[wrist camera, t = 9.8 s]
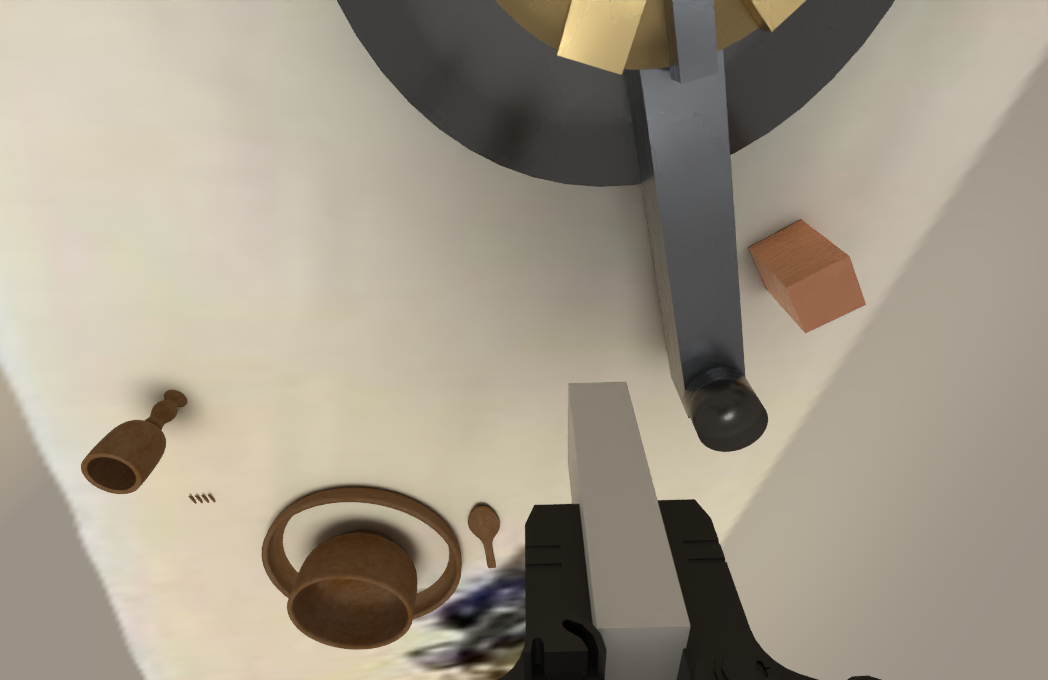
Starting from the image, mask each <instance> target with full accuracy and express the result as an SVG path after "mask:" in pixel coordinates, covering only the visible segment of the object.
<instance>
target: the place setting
mask: <svg viewBox="0 0 1048 680" xmlns="http://www.w3.org/2000/svg"><path fill="white" fill-rule="evenodd" d="M164 398H165V400H164V401H161V402H158V403H157V404H156V405H154V407H153V409H152V411H151V415H150V417H149V418H148V419H146V420H145V421H143V420H132V421H127V422H125V423H122V424H120V425H119V426H117V427H116V428H114V429H113V430H112V431H111V432H109V433H108V434H107V435H106V436H105V437H104V438H103V439H102V440H101V441H100V442H99V443H98V444H97V445H96V446H95V447H94V448H93V449H92V450H91V451H90V453H89V454H88V455H87V456H86V457H85V459H84V460H83V461H82V464H81V470H82V473H83V475H84V476H85V478H86V479H87V480H88V481H89V482H90V483H91V484H93V485H94V486H96V487H97V488H99V489H101V490H104V491H107V492H110V493H115V494H128V493H131V492H134V491H136V490H137V489H138V488H139V487H140V486H141V485H142V483H143V482H144V481H145V480H146V479H147V477H148V476H149V475H150V473H151V472H152V471H153V469H154V468H155V466H156V465H157V464H158V462H159V460H160V459H161V457H162V455H163V453H164V451H165V447H166V438H165V436H164V434H163V432H162V431H161V430H162V427H163V425H164V424H165V423H167V422H169V421H171V420H173V419H174V418H175V416H176V415H177V411H178V409H177V407H183V406H185V405H186V404H187V398H186V397H185V395H184V394H182V393H181V392H179V391H176V390H168V391H166V392H165V394H164ZM208 496H209V497H210V498H211V500H212V501H213V502H216V501H215V499H214V498H213V497H212V496H210V495H209V494H208ZM195 497H196V498H197V499H198V500H199V501H200V502H201V503H203V501H202V500H201V499H200V498H199V497H198V496H196V495H195ZM202 497H203V498H204V499H205V500H206V501H207V502H208V503H209V500H208V499H207V498H206V497H205V496H203V495H202ZM189 498H190V499H191V500H192V501H193V502H194V503H195V504H196V501H195V499H194V498H192V497H191V496H189ZM338 502H361V503H370V504H377V505H382V506H386V507H390V508H394V509H396V510H399V511H402V512H405V513H407V514H409V515H411V516H414V517H416V518H418V519H419V520H421V521H423V522H424V523H426V524H427V525H429V526H430V527H431V528H433V529H434V530H435V531H436V532H437V533H438V534H439V535H440V536H441V537H442V538H443V539H444V540H445V541H446V543H447V544H448V546H449V561H448V565H447V568H446V570H445V571H444V573H443V575H442V576H441V577H440V578H439V579H438V580H437V581H436V582H435V583H434V584H433V585H431V586H430V587H429V588H427V589H425V590H424V591H422V592H420V593H417V574H416V569H415V567H414V564H413V562H412V560H411V559H410V557H409V556H408V555H407V553H406V552H405V551H404V550H403V549H402V548H400V547H399V546H398V545H396V544H395V543H394V542H393V541H392V540H390V539H389V538H388V537H386V536H384V535H382V534H379V533H376V532H371V531H355V532H351V533H348V534H345V535H340V536H336V537H333V538H331V539H329V540H326V541H325V542H323V543H321V544H320V545H318V546H317V547H316V548H315V549H314V550H313V551H312V552H311V553H310V554H309V555H308V557H307V558H306V560H305V561H304V563H303V565H302V567H301V569H300V571H299V573H298V572H297V571H296V570H295V569H294V568H293V567H292V565H291V564H290V562H289V561H288V559H287V557H286V555H285V552H284V548H283V533H284V529H285V527H286V525H287V523H288V521H289V520H290V518H291V517H292V516H293V515H295V514H297V513H299V512H301V511H303V510H306V509H309V508H312V507H315V506H319V505H324V504H329V503H338ZM468 525H469V528H470V530H471V531H472V532H473V534H474V535H476V536H477V537H478V538H479V539H480V540H481V541H482V543H483V545H484V548H485V553H486V559H487V565H488V568H496V562H495V558H494V553H493V548H492V541H493V538H494V537H495V536H496V534H497V533H498V531H499V528H500V522H499V519H498V517H497V515H496V514H495V513H494V511H493V510H492V509H490V508H489V507H487V506H477V507H475V508H474V509H473V510H472V512H471V514H470V516H469V520H468ZM262 561H263V566H264V568H265V571H266V573H267V575H268V576H269V578H270V580H271V581H272V583H273V584H274V585H275V586H276V587H277V589H278V590H280V591H281V592H282V593H283V594H284V595H285V596H286V597H288V598H289V600H288V603H287V610H288V614H289V617H290V619H291V621H292V622H293V624H294V625H295V626H296V627H297V628H298V629H299V630H300V631H301V632H302V633H304V634H305V635H307V636H308V637H310V638H312V639H314V640H316V641H318V642H320V643H323V644H326V645H329V646H333V647H338V648H344V649H372V648H377V647H381V646H385V645H387V644H390V643H392V642H394V641H396V640H398V639H399V638H401V637H402V636H403V635H404V634H405V633H406V632H407V631H408V630H409V628H410V626H411V624H412V620H413V619H415V618H418V617H421V616H423V615H426V614H428V613H430V612H432V611H434V610H435V609H437V608H438V607H440V606H441V605H443V604H444V603H445V602H446V601H447V600H448V599H449V598H450V597H451V595H452V594H453V593H454V592H455V590H456V588H457V586H458V584H459V580H460V577H461V567H462V562H461V553H460V549H459V546H458V543H457V541H456V539H455V537H454V535H453V533H452V531H451V530H450V529H449V527H448V526H447V525H446V523H445V522H444V521H443V520H442V519H441V518H440V517H439V516H438V515H436V514H435V513H434V512H432V511H431V510H430V509H428V508H427V507H425V506H424V505H422V504H420V503H419V502H416V501H414V500H412V499H410V498H408V497H405V496H403V495H400V494H397V493H393V492H389V491H386V490H380V489H374V488H364V487H344V488H336V489H330V490H325V491H321V492H318V493H315V494H312V495H309V496H307V497H305V498H303V499H301V500H299V501H297V502H295V503H294V504H292V505H291V506H289V507H288V508H287V509H286V510H284V511H283V512H282V513H281V514H280V515H279V516H278V517H277V519H276V520H275V521H274V523H273V524H272V525H271V527H270V528H269V530H268V533H267V535H266V537H265V539H264V542H263V546H262Z"/></svg>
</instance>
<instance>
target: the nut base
mask: <svg viewBox="0 0 1048 680" xmlns="http://www.w3.org/2000/svg"><path fill="white" fill-rule="evenodd" d="M894 1H895V0H806V1H805V2H804V3H803V4H801V5H800V6H799V7H798V8H797V9H796V10H795V11H794V12H793V13H792V14H791V15H790V16H789V17H787V18H786V19H785V20H784V21H783V22H782V23H781V24H780V25H779V26H778V27H777V28H776V29H775V30H773V31H772V32H769V31H761V30H760V29H759V28H758V29H756V30H755V31H753V32H752V33H750V34H749V35H747V36H746V37H744V38H743V39H741V40H740V41H738V42H736V43H734V44H732V45H730V46H728V47H726V48H724V49H723V58H724V72H725V87H726V102H727V117H728V131H729V146H730V155H731V154H733V153H735V152H737V151H739V150H740V149H742V148H744V147H745V146H747V145H749V144H750V143H752V142H754V141H755V140H757V139H759V138H760V137H762V136H764V135H765V134H767V133H769V132H770V131H771V130H773V129H774V128H775V127H777V126H778V125H779V124H781V123H782V122H783V121H785V120H786V119H787V118H789V117H790V116H791V115H793V114H794V113H795V112H797V111H798V110H799V109H801V108H802V107H803V106H804V105H805V104H806V103H807V102H808V101H809V100H810V99H811V98H813V97H814V96H815V95H816V94H817V93H818V92H819V91H820V90H821V89H822V88H823V87H824V86H825V85H827V84H828V83H829V82H830V81H831V80H832V79H833V78H834V77H835V76H836V74H837V73H838V72H839V71H840V70H841V69H842V68H843V67H844V65H845V64H846V63H847V62H848V61H849V60H850V59H851V58H852V56H853V55H854V54H855V53H856V52H857V51H858V50H859V49H860V47H861V46H862V45H863V44H864V43H865V41H866V40H867V38H868V37H869V36H870V34H871V33H872V32H873V30H874V29H875V27H876V26H877V25H878V23H879V22H880V21H881V19H882V18H883V16H884V15H885V14H886V12H887V11H888V10H889V8H890V7H891V6H892V4H893V2H894ZM337 2H338V3H339V5H340V7H341V9H342V11H343V12H344V14H345V16H346V18H347V20H348V21H349V23H350V25H351V27H352V29H353V30H354V32H355V34H356V36H357V37H358V39H359V40H360V41H361V43H362V44H363V46H364V47H365V49H366V50H367V51H368V53H369V54H370V56H371V57H372V58H373V60H374V61H375V63H376V64H377V66H378V67H379V68H380V70H381V71H382V72H383V74H384V75H385V76H386V77H387V78H388V79H389V80H390V81H391V83H392V84H393V85H394V86H395V87H396V88H397V89H398V90H399V91H400V93H401V94H402V95H403V96H404V97H405V98H406V99H407V100H408V102H409V103H410V104H412V105H413V106H414V107H415V108H416V109H417V110H418V111H420V112H421V113H422V114H423V115H424V116H425V117H426V118H427V119H429V120H430V121H431V122H432V123H433V124H434V125H435V126H437V127H438V128H439V129H440V130H442V131H443V132H445V133H446V134H448V135H449V136H450V137H452V138H453V139H455V140H456V141H458V142H459V143H461V144H462V145H464V146H465V147H467V148H468V149H470V150H472V151H473V152H475V153H477V154H479V155H481V156H483V157H485V158H487V159H489V160H491V161H493V162H495V163H497V164H499V165H501V166H504V167H506V168H509V169H512V170H515V171H518V172H521V173H523V174H526V175H529V176H532V177H535V178H540V179H545V180H550V181H554V182H559V183H564V184H572V185H585V186H598V187H602V186H620V185H635V184H640V183H641V177H640V171H639V164H638V158H637V151H636V145H635V138H634V132H633V125H632V119H631V112H630V106H629V99H628V93H627V86H626V80H625V73H624V69H623V73H622V75H620V74H617V73H614V72H610V71H607V70H604V69H601V68H597V67H594V66H591V65H587V64H584V63H581V62H578V61H574V60H571V59H568V58H565V57H561V56H558V55H557V54H556V53H555V52H556V49H554V48H553V47H551V46H549V45H547V44H546V43H544V42H542V41H540V40H539V39H537V38H536V37H535V36H533V35H532V34H531V33H530V32H528V31H527V30H526V29H524V28H523V27H522V26H520V25H519V24H518V23H517V22H516V21H515V20H514V19H513V18H512V17H511V16H510V15H509V14H508V13H507V12H506V11H505V10H504V9H503V8H502V7H501V6H500V5H499V4H498V3H497V2H496V1H495V0H337ZM749 251H750V253H751V255H752V258H753V260H754V262H755V264H756V267H757V269H758V271H759V273H760V276H761V278H762V280H763V282H764V285H765V287H766V289H767V290H768V291H769V293H770V294H771V295H772V296H773V297H774V298H775V299H776V300H777V302H778V303H779V304H780V305H781V306H782V307H783V308H784V310H785V311H786V312H787V313H788V314H789V315H790V316H791V318H792V319H793V320H794V321H795V322H796V323H797V324H798V325H799V327H800V328H801V329H802V330H803V331H804V332H805V333H807V332H809V331H811V330H813V329H816V328H818V327H820V326H822V325H824V324H826V323H828V322H830V321H832V320H835V319H837V318H839V317H841V316H843V315H845V314H847V313H849V312H851V311H854V310H856V309H858V308H860V307H862V306H864V305H866V303H865V300H864V298H863V295H862V292H861V289H860V286H859V283H858V280H857V277H856V274H855V271H854V268H853V265H852V262H851V259H850V257H849V255H847V254H846V253H845V252H843V251H842V250H841V249H839V248H838V247H837V246H835V245H834V244H833V243H831V242H830V241H829V240H827V239H826V238H825V237H824V236H822V235H821V234H820V233H818V232H817V231H816V230H814V229H813V228H812V227H810V226H809V225H808V224H806V223H805V222H804V221H802V220H800V221H798V222H796V223H794V224H792V225H790V226H788V227H787V228H785V229H783V230H781V231H779V232H777V233H775V234H773V235H771V236H770V237H768V238H766V239H764V240H762V241H760V242H758V243H756V244H754V245H753V246H751V247H749Z"/></svg>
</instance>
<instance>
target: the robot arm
mask: <svg viewBox="0 0 1048 680" xmlns="http://www.w3.org/2000/svg"><path fill="white" fill-rule="evenodd" d="M568 466H569V476H570V487H571V497H572V504H554V505H534V507H533V509H532V511H531V513H530V515H529V517H528V520H527V522H526V524H525V567H526V569H525V582H526V637H525V645H524V649H523V651H522V654H521V657H520V658H519V660H518V661H517V663H516V664H515V666H514V667H513V668H512V669H511V670H510V671H509V672H508V673H507V674H506V675H505V676H503V677H501V678H499V679H498V680H817V679H814V678H811V677H808V676H804V675H801V674H799V673H796V672H794V671H791V670H789V669H787V668H785V667H784V666H782V665H780V664H779V663H777V662H776V661H774V660H773V659H772V658H771V657H770V656H769V655H768V654H767V653H766V652H765V651H764V650H763V649H762V648H761V646H760V645H759V644H758V643H757V641H756V640H755V638H754V636H753V634H752V631H751V630H750V627H749V624H748V621H747V618H746V616H745V613H744V610H743V607H742V604H741V602H740V599H739V596H738V593H737V590H736V587H735V585H734V582H733V579H732V576H731V574H730V571H729V568H728V565H727V563H726V562H725V557H724V554H723V551H722V548H721V545H720V544H719V540H718V537H717V534H716V531H715V528H714V526H713V523H712V520H711V518H710V517H709V515H708V514H707V513H706V512H705V511H704V510H703V509H702V507H701V506H700V505H699V504H698V503H697V502H696V500H695V499H692V500H657V497H656V493H655V490H654V486H653V482H652V478H651V474H650V471H649V467H648V463H647V459H646V455H645V452H644V448H643V444H642V440H641V436H640V433H639V429H638V425H637V421H636V417H635V414H634V410H633V406H632V402H631V398H630V395H629V391H628V387H627V383H626V382H604V383H571V384H569V385H568ZM848 680H881V679H877V678H874V677H871V676H855V677H851V678H849V679H848Z"/></svg>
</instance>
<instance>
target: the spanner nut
mask: <svg viewBox="0 0 1048 680" xmlns="http://www.w3.org/2000/svg"><path fill="white" fill-rule="evenodd" d="M495 1H496V2H497V3H498V4H499V5H500V6H501V7H502V8H503V9H504V10H505V11H506V12H507V13H508V14H509V15H510V16H511V17H512V18H513V19H514V20H515V21H516V22H517V23H518V24H519V25H520V26H522V27H523V28H524V29H526V30H527V31H528V32H530V33H531V34H532V35H533V36H535V37H536V38H537V39H539V40H540V41H542V42H544V43H546V44H547V45H549V46H551V47H553V48H554V49H556V52H555V53H556V54H557V55H558V56H561V57H565V58H568V59H571V60H574V61H578V62H581V63H584V64H587V65H591V66H594V67H597V68H601V69H604V70H607V71H610V72H614V73H617V74H620V75H622V73H623V69H624V73H625V80H626V86H627V93H628V99H629V106H630V112H631V119H632V125H633V132H634V138H635V145H636V151H637V158H638V164H639V171H640V177H641V184H642V190H643V197H644V203H645V210H646V216H647V223H648V229H649V236H650V242H651V249H652V256H653V262H654V269H655V275H656V282H657V288H658V295H659V301H660V308H661V314H662V321H663V327H664V334H665V340H666V347H667V353H668V360H669V366H670V373H671V378H672V380H673V382H674V385H675V387H676V389H677V392H678V394H679V397H680V399H681V401H682V404H683V406H684V408H685V411H686V413H687V415H688V418H691V420H692V423H693V425H694V427H695V430H696V432H697V434H698V437H699V439H700V441H701V442H702V443H703V444H704V445H705V446H706V447H708V448H710V449H712V450H716V451H721V452H729V451H736V450H739V449H742V448H745V447H747V446H749V445H751V444H752V443H754V442H755V441H756V440H757V439H759V438H760V436H761V435H762V434H763V433H764V431H765V429H766V427H767V423H768V415H767V412H766V410H765V408H764V407H763V405H762V403H761V402H760V400H759V399H758V397H757V395H756V394H755V392H754V391H753V389H752V387H751V386H750V384H749V382H748V381H747V379H746V378H745V367H744V352H743V337H742V323H741V308H740V293H739V279H738V264H737V249H736V234H735V220H734V205H733V190H732V176H731V161H730V146H729V131H728V117H727V102H726V87H725V72H724V58H723V49H724V48H726V47H728V46H730V45H732V44H734V43H736V42H738V41H740V40H741V39H743V38H744V37H746V36H747V35H749V34H750V33H752V32H753V31H755V30H756V29H758V28H759V29H760V30H761V31H769V32H772V31H773V30H775V29H776V28H777V27H778V26H779V25H780V24H781V23H782V22H783V21H784V20H785V19H786V18H787V17H789V16H790V15H791V14H792V13H793V12H794V11H795V10H796V9H797V8H798V7H799V6H800V5H801V4H803V3H804V2H805V1H806V0H495Z"/></svg>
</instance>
